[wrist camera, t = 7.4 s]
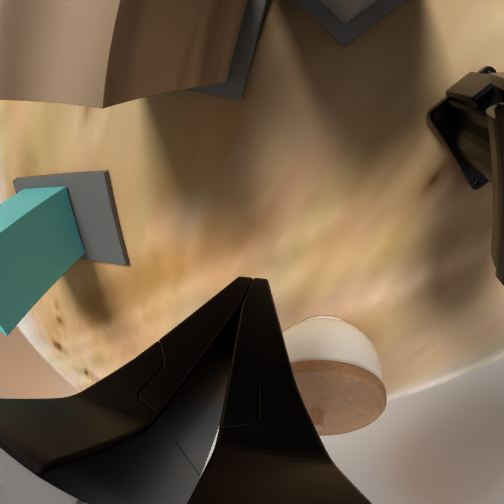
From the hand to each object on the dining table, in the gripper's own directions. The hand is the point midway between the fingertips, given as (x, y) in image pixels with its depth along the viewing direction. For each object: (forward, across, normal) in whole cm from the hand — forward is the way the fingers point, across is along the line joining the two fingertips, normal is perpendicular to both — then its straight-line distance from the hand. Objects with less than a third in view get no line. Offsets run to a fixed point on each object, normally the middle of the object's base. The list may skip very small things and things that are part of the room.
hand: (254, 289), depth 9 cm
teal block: (+12, +23, +5) cm, 27 cm away
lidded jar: (+13, -4, +16) cm, 21 cm away
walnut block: (+12, +6, -10) cm, 17 cm away
